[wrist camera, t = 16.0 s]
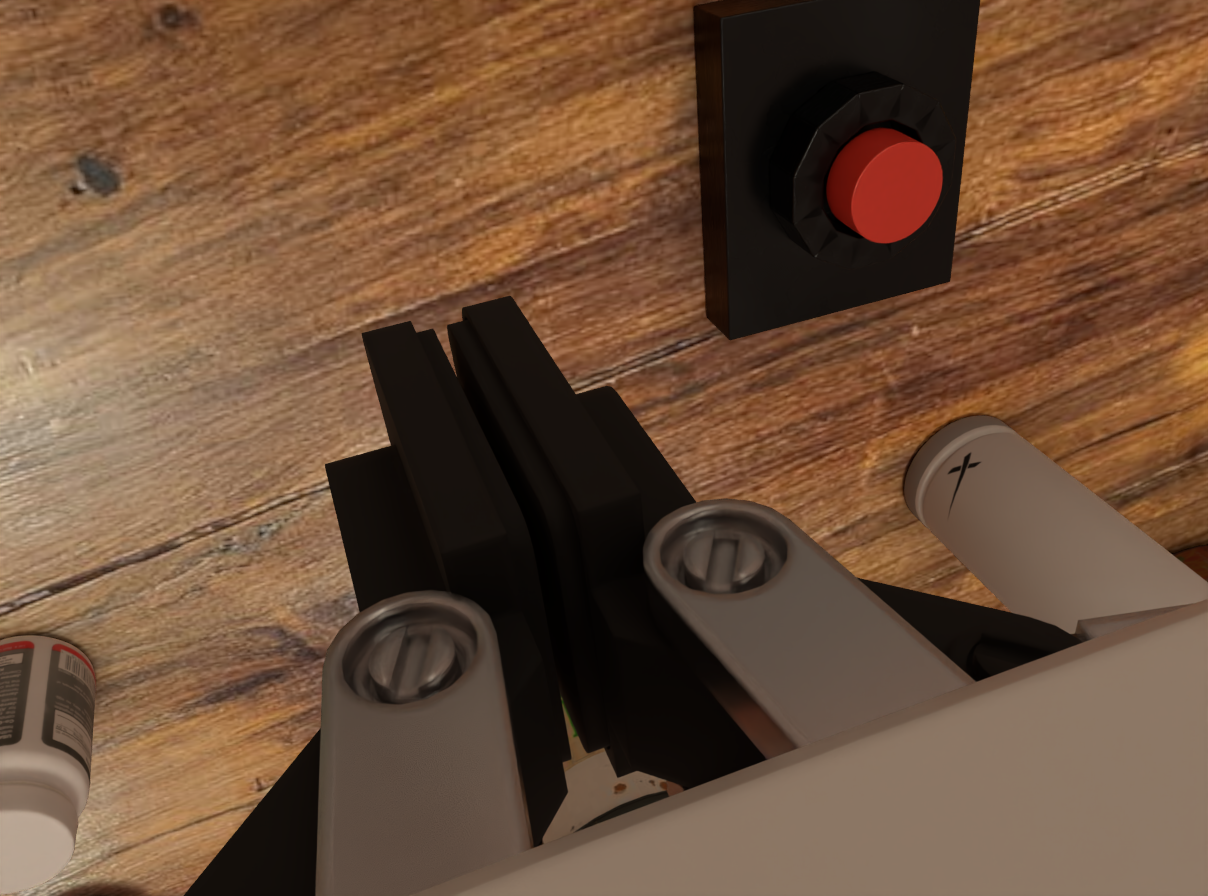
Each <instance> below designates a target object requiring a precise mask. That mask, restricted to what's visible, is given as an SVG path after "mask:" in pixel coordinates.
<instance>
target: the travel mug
mask: <svg viewBox="0 0 1208 896" xmlns="http://www.w3.org/2000/svg"><path fill="white" fill-rule="evenodd" d="M904 491H905V500H906V503H907V506H908V508H909V509H910V510H911V512H912V513H913V514H914V515H915V516H916V517H917V518H918V519H919V520H920V521H921V522H922V523H923V524H924V525H925V526H926V527H927V528H929V529H930V531H931V532H932V533H933V534H934V535H935V536H936V537H937V538H938V539H939V540H940V541H941V542H942V543H943V544H944V545H945V546H946V547H947V548H948V549H949V550H950V551H951V552H952V553H953V554H954V555H955V556H956V557H957V558H958V559H959V560H960V561H961V562H962V563H963V564H964V565H965V566H966V567H967V568H968V569H969V570H970V571H971V572H972V573H973V574H974V575H975V576H976V577H977V578H978V579H979V580H980V581H981V582H982V583H983V584H984V585H985V586H986V587H987V588H988V589H989V590H990V591H991V592H992V593H993V594H994V595H995V596H996V597H997V598H998V599H999V600H1000V601H1001V602H1002V603H1003V604H1004V605H1005V606H1006V607H1007V608H1008V609H1009V610H1010V611H1011V612H1012V613H1015V614H1019V615H1024V616H1028V617H1031V618H1034V619H1037V620H1040V621H1043V622H1046V623H1049V624H1052V625H1055V626H1057V627H1059V628H1061V629H1063V630H1064V631H1066V632H1068V633H1069V634H1074V633H1075V631H1076V627H1077V622H1078V620H1083V619H1090V618H1097V617H1103V616H1110V615H1117V614H1124V613H1131V612H1137V611H1144V610H1151V609H1158V608H1165V607H1172V606H1178V605H1185V604H1192V603H1197V602H1200V601H1203V600H1205V599H1208V582H1207V581H1205V580H1204V579H1203V578H1202V577H1200V576H1199V575H1198V574H1196V573H1195V572H1194V571H1193V570H1191V569H1190V568H1189V567H1187V566H1186V565H1185V564H1184V563H1182V562H1181V561H1180V560H1179V559H1177V558H1176V557H1175V556H1173V555H1172V554H1171V553H1170V552H1168V551H1167V550H1166V549H1164V548H1163V547H1162V546H1161V545H1159V544H1158V543H1157V542H1156V541H1154V540H1153V539H1152V538H1150V537H1149V536H1148V535H1147V534H1145V533H1144V532H1143V531H1141V530H1140V529H1139V528H1138V527H1136V526H1135V525H1134V524H1133V523H1131V522H1130V521H1129V520H1127V519H1126V518H1125V517H1124V516H1122V515H1121V514H1120V513H1118V512H1117V511H1116V510H1115V509H1113V508H1112V507H1111V506H1110V505H1108V504H1107V503H1106V502H1104V501H1103V500H1102V499H1101V498H1099V497H1098V496H1097V495H1095V494H1094V493H1093V492H1092V491H1090V490H1089V489H1088V488H1087V487H1085V486H1084V485H1083V484H1081V483H1080V482H1079V481H1078V480H1076V479H1075V478H1074V477H1073V476H1071V475H1070V474H1069V473H1067V472H1066V471H1065V470H1064V469H1062V468H1061V467H1060V466H1058V465H1057V464H1056V463H1055V462H1053V461H1052V460H1051V459H1050V458H1048V457H1047V456H1046V455H1044V454H1043V453H1042V452H1041V451H1039V450H1038V449H1037V448H1035V447H1034V446H1033V445H1032V444H1030V443H1029V442H1028V441H1027V440H1025V439H1024V438H1022V437H1021V436H1020V435H1019V434H1017V433H1016V432H1015V431H1014V430H1012V429H1011V428H1010V427H1009V426H1007V425H1006V424H1005V423H1004V422H1002V421H1001V420H999V419H997V418H995V417H990V416H985V415H984V416H971V417H967V418H963V419H960V420H958V421H955V422H953V423H951V424H949V425H948V426H946V427H944V428H943V429H941V430H940V431H938V432H937V433H936V434H935V435H934V436H932V437H931V438H930V439H929V440H928V441H927V442H926V443H925V444H924V445H923V446H922V448H921V449H920V450H919V452H918V453H917V455H916V456H915V457H914V459H913V461H912V463H911V465H910V467H909V470H908V472H907V475H906V479H905V486H904Z"/></svg>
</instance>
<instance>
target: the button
mask: <svg viewBox="0 0 1208 896" xmlns="http://www.w3.org/2000/svg"><path fill="white" fill-rule="evenodd" d="M942 181H943V175H942V168H941V164H940V161H939V159H938V157H937V155H936V154H935V153H934V151H933V150H932V149H931V148H929V147H928V146H926V145H925V144H923V143H921V142H919V141H917V140H915V139H913V138H911V137H909V136H907V135H905V134H903V133H901V132H899V131H897V130H894V129H891V128H875V129H871V130H868V131H865V132H863V133H861V134H859V135H858V136H856V137H855V138H853V139H852V140H851V141H850V142H849V143H847V144H846V145H845V146H844V148H843V149H842V150H841V151H840V153H839V154H838V155H837V157H836V159H835V160H834V162H833V164H832V166H831V169H830V172H829V175H828V179H827V186H826V195H827V201H828V204H829V207H830V209H831V212H832V213H833V214H834V216H835V217H836V218H837V219H838V220H839V221H841V222H842V223H843V224H845V225H846V226H848V227H849V228H851V229H852V230H854V231H855V232H857V233H858V234H860V235H861V236H863V237H864V238H866V239H867V240H870V241H872V242H876V243H892V242H896V241H899V240H901V239H904V238H906V237H907V236H909V235H911V234H912V233H914V232H915V231H916V230H917V229H918V228H920V227H921V226H922V225H923V224H924V222H925V221H926V220H927V219H928V218H929V216H930V215H931V213H932V212H933V210H934V208H935V206H936V204H937V202H938V199H939V197H940V193H941V189H942Z"/></svg>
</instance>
